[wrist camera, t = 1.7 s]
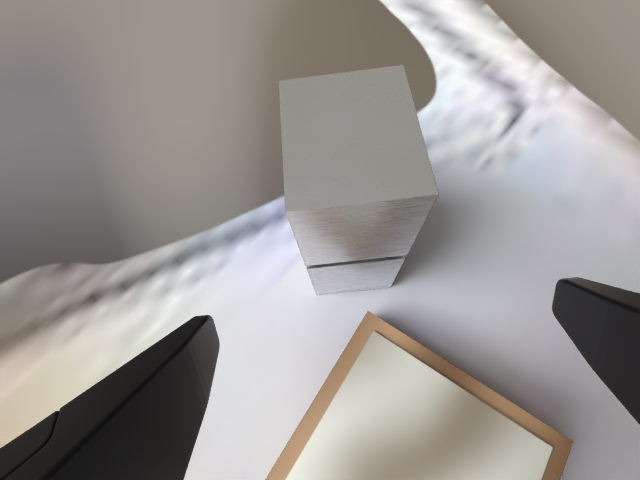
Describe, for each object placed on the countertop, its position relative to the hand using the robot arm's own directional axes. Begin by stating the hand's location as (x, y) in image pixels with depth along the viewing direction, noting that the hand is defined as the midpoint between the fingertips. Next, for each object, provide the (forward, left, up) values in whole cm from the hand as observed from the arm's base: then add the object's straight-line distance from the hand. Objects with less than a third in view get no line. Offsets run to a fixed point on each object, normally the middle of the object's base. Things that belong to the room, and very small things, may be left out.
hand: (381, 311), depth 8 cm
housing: (+4, -5, -13) cm, 14 cm away
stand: (-5, +4, -13) cm, 14 cm away
